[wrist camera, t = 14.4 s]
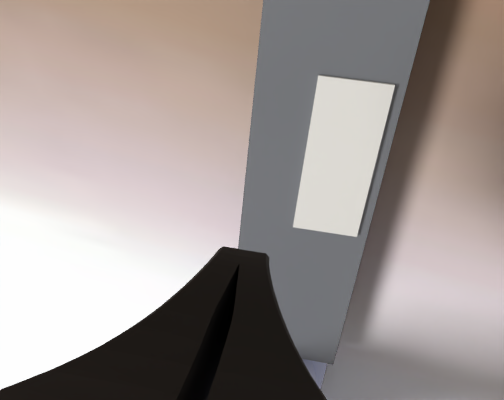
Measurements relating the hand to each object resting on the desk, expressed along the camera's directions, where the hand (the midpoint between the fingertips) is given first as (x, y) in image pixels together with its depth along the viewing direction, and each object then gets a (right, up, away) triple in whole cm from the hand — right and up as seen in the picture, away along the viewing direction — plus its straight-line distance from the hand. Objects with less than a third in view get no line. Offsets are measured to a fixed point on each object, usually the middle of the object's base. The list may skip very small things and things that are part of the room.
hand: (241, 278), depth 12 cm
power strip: (+3, +5, +8) cm, 10 cm away
